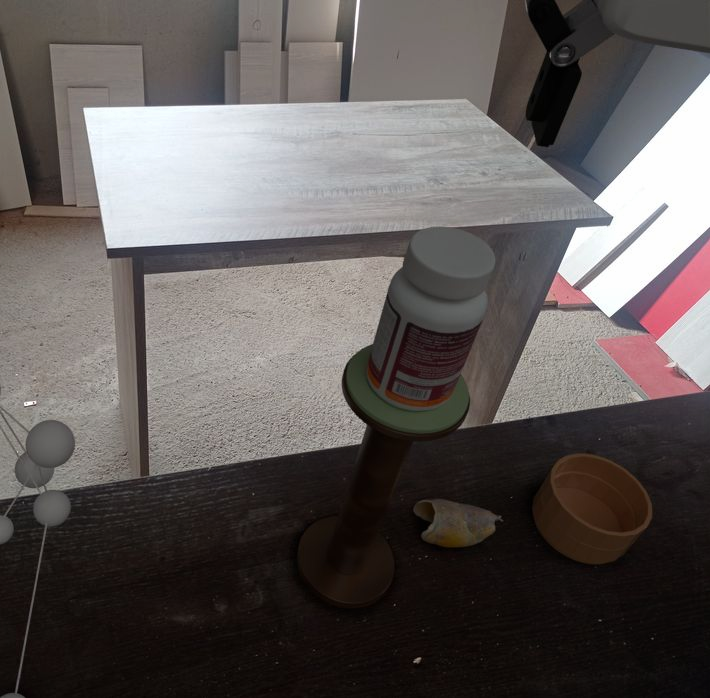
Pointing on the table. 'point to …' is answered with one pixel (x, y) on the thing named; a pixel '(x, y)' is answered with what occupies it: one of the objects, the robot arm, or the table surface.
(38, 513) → the molecule model
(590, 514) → the bowl
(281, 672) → the table surface
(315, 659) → the table surface
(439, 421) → the coaster
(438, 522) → the cream hollow shell
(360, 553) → the stand
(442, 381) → the pill bottle
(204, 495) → the table surface
